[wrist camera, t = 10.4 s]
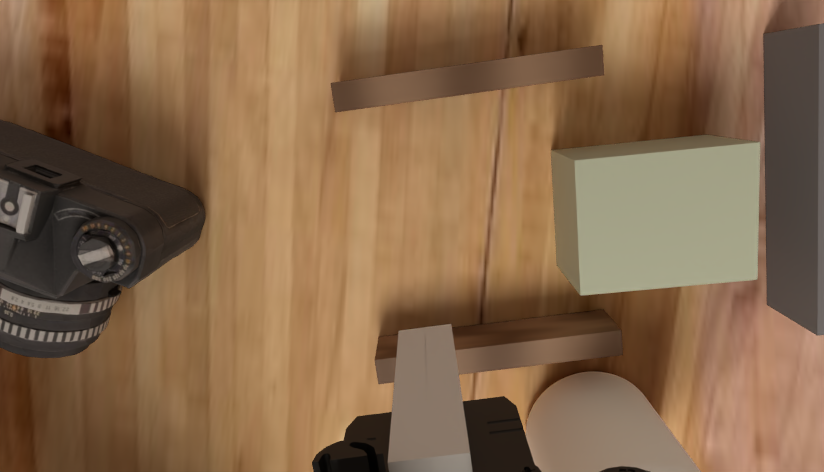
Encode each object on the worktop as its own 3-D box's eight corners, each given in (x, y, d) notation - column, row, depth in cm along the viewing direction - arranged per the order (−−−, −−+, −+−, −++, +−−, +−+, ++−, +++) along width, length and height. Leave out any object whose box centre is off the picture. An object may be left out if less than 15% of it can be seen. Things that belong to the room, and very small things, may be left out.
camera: (-53, 269, 39) (-211, 328, 29) (-18, 100, 37) (-176, 103, 27) (170, 345, 40) (88, 426, 30) (217, 185, 37) (146, 216, 28)
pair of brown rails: (382, 359, 40) (378, 384, 36) (339, 84, 36) (330, 83, 32) (605, 332, 39) (622, 354, 36) (584, 49, 35) (602, 44, 32)
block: (556, 264, 38) (580, 295, 32) (550, 149, 37) (574, 160, 31) (705, 250, 38) (757, 279, 32) (705, 134, 36) (760, 142, 31)
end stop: (766, 304, 38) (817, 335, 34) (763, 34, 35) (819, 24, 30) (787, 302, 38) (840, 332, 33) (785, 31, 35) (844, 20, 30)
